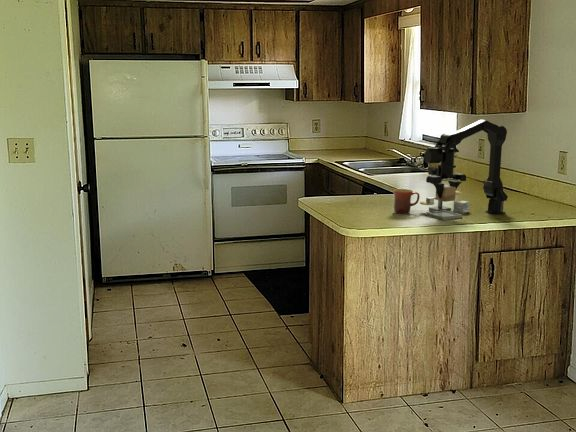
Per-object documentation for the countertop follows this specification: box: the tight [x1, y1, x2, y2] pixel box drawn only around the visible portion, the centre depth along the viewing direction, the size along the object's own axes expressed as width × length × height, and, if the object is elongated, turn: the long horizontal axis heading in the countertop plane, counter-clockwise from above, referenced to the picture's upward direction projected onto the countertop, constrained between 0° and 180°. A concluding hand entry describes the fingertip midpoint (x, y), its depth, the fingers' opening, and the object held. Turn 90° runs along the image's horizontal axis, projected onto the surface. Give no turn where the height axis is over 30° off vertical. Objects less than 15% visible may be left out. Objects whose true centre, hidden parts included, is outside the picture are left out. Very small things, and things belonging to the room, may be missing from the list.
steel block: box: [452, 199, 470, 215], centre depth 321 cm, size 5×5×5 cm
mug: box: [392, 188, 421, 215], centre depth 318 cm, size 12×9×10 cm
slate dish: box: [425, 210, 463, 221], centre depth 311 cm, size 11×11×1 cm
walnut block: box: [434, 184, 457, 203], centre depth 309 cm, size 6×6×6 cm
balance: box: [419, 190, 462, 212], centre depth 323 cm, size 22×6×9 cm, turn 120°
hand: (445, 197), depth 310 cm, fingers closed on walnut block, 6 cm apart
